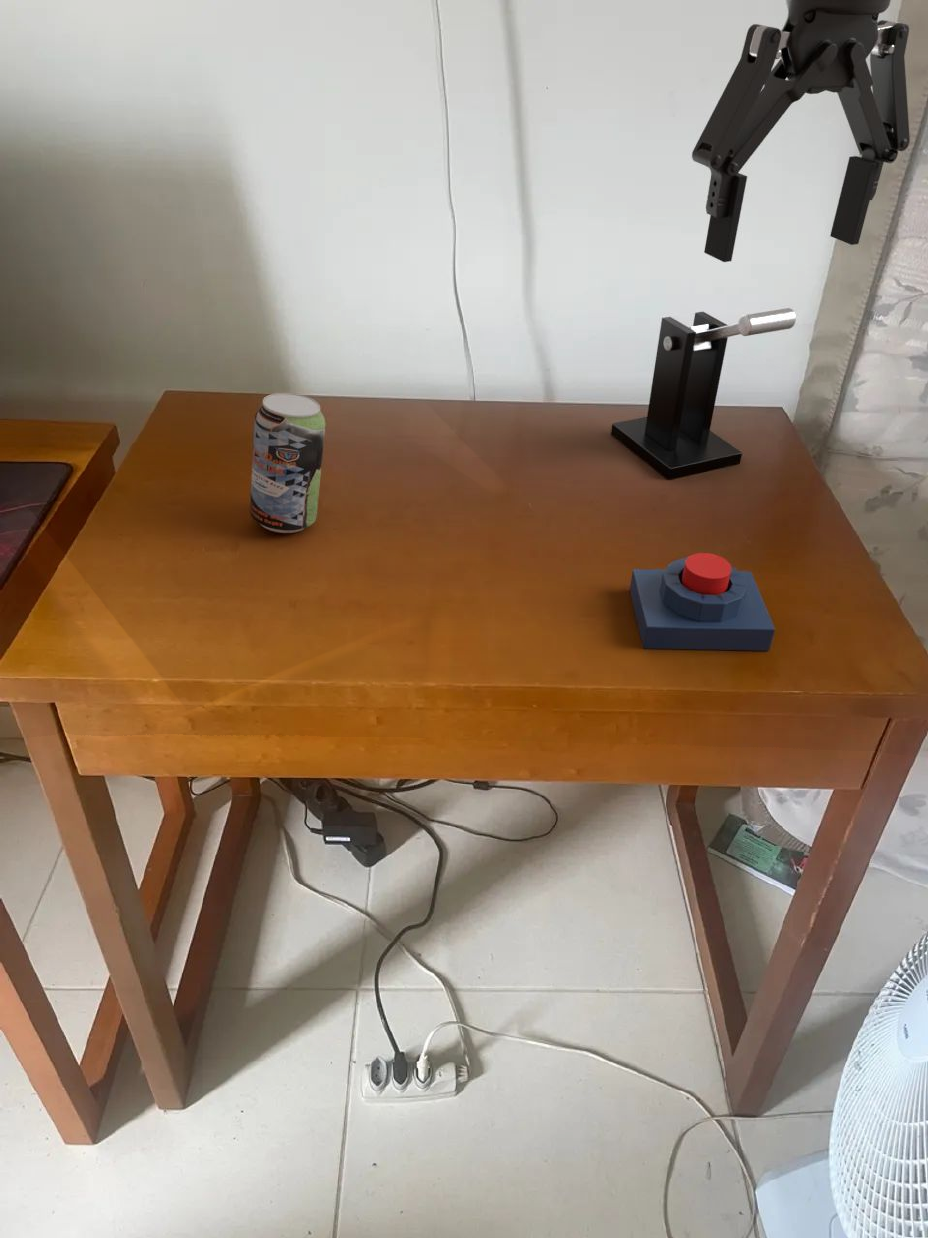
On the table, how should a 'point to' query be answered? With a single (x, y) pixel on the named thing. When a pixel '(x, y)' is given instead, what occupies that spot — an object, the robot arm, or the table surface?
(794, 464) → the table surface
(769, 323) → the lever
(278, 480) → the beverage can
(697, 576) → the button
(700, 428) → the bracket
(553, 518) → the table surface
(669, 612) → the button box
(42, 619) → the table surface
